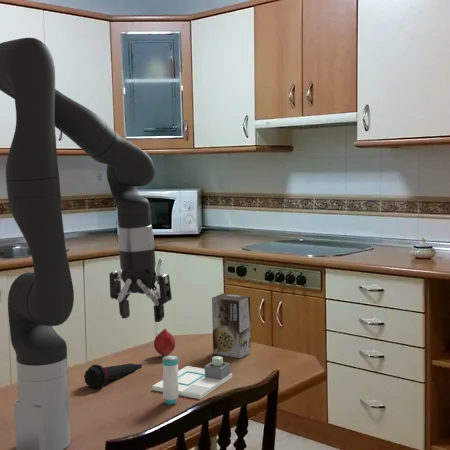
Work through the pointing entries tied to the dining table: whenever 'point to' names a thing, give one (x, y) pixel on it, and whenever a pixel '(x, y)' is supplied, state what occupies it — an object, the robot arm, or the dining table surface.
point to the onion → (164, 343)
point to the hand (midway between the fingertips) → (142, 319)
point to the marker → (170, 379)
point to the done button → (217, 361)
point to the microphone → (107, 373)
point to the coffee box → (231, 325)
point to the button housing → (217, 371)
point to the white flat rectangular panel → (194, 383)
